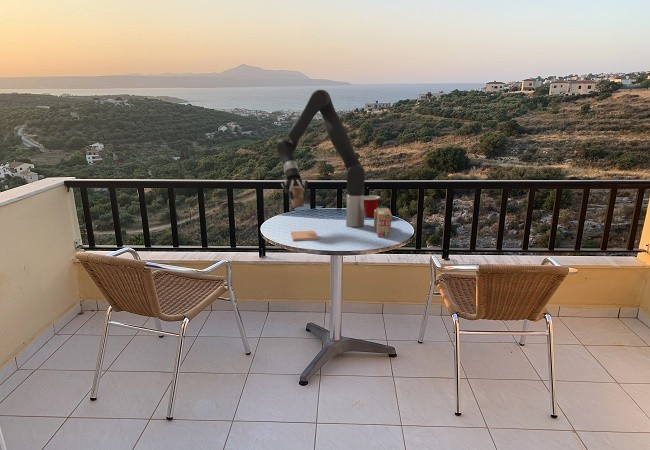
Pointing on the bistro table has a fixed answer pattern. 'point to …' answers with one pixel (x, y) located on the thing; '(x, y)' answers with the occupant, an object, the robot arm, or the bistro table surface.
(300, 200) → the walnut block
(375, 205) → the plastic cup
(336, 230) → the bistro table surface
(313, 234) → the terracotta tile
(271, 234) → the bistro table surface
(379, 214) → the stack of blocks
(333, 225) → the bistro table surface
